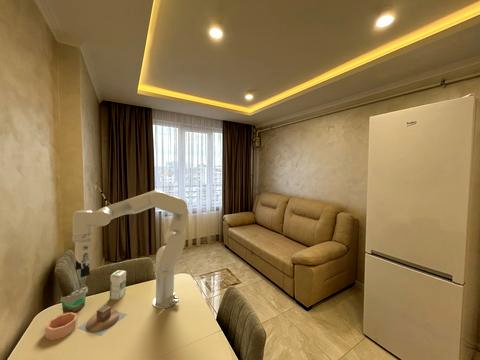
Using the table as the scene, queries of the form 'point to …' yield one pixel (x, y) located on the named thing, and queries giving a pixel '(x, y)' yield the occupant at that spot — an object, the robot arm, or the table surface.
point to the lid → (103, 319)
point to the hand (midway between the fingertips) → (82, 272)
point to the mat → (84, 327)
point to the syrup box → (117, 284)
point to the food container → (74, 300)
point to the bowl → (61, 326)
